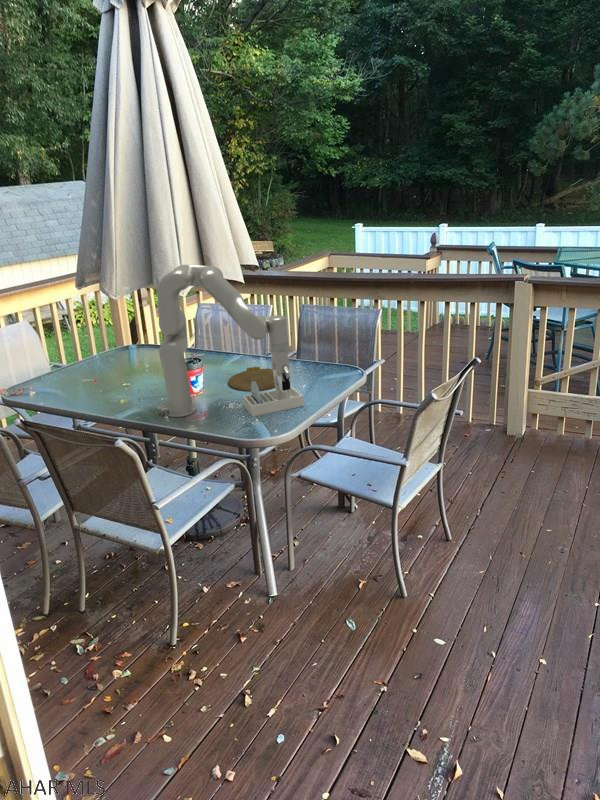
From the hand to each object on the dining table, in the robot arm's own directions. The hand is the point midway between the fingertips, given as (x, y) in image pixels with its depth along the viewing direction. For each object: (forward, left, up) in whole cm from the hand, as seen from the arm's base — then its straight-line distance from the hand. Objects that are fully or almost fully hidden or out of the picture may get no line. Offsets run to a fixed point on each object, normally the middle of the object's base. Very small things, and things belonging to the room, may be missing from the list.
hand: (282, 386), depth 256 cm
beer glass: (0, 0, -7) cm, 7 cm away
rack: (-5, 0, -8) cm, 9 cm away
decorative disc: (-1, +36, -8) cm, 37 cm away
